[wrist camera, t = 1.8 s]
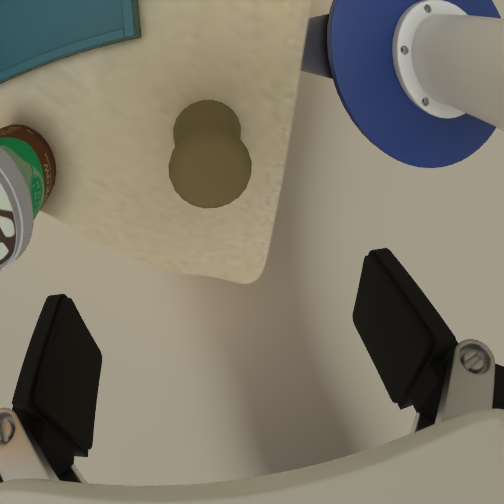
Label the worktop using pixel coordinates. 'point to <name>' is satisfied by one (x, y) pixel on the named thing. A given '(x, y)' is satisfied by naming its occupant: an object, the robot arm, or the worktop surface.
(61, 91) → the worktop surface
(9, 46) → the tray
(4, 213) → the food container
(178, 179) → the olive tapered rounded piece
